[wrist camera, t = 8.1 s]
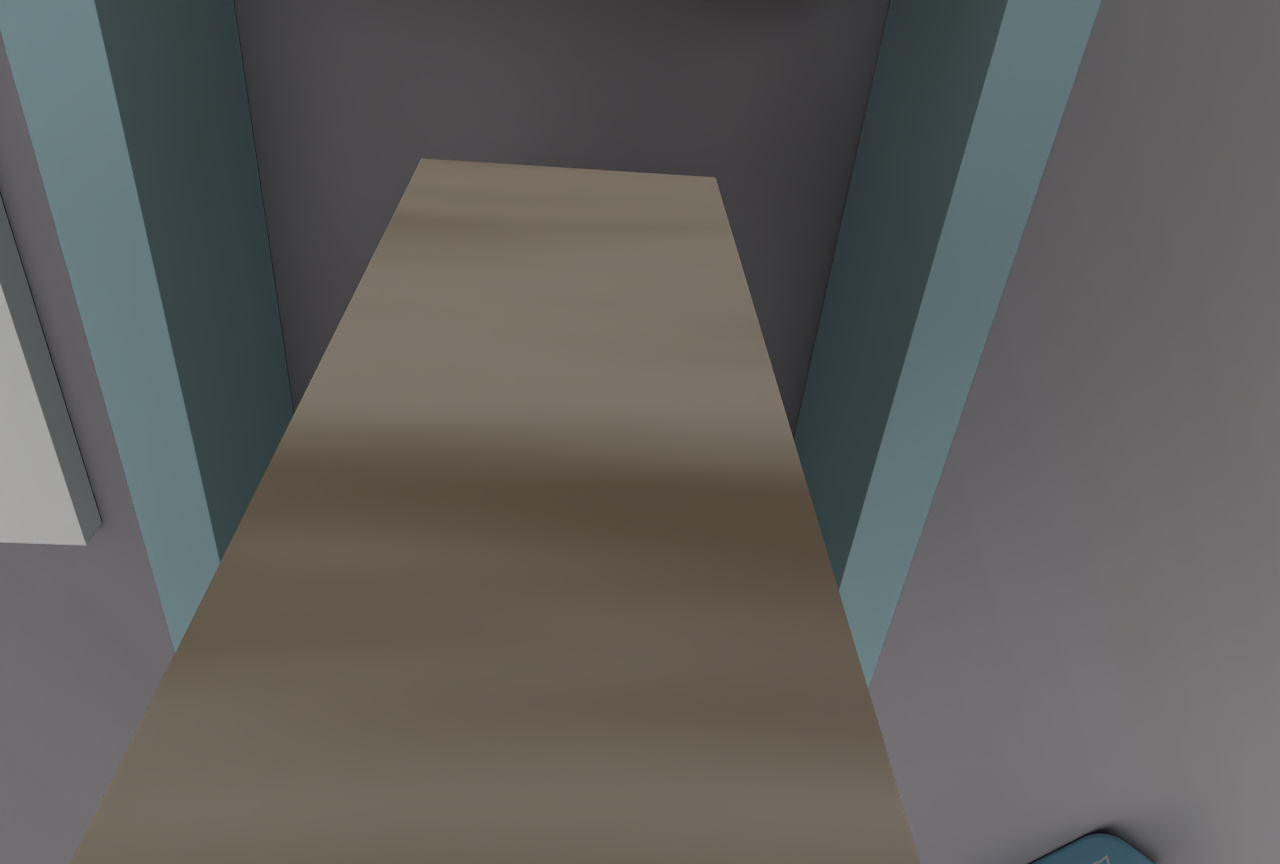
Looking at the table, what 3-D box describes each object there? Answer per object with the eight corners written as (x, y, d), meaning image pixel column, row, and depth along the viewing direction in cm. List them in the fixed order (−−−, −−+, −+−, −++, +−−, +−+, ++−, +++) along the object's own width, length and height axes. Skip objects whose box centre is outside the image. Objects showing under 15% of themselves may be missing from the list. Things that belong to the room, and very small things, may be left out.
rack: (60, -541, 15) (-211, -722, 10) (1063, -406, 16) (1272, -504, 11) (266, 566, 28) (196, 728, 23) (807, 585, 29) (850, 741, 25)
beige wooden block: (420, 158, 12) (-774, 2557, 2) (715, 177, 13) (1353, 2314, 2) (453, 693, 19) (252, 1909, 8) (649, 698, 19) (710, 1875, 8)
